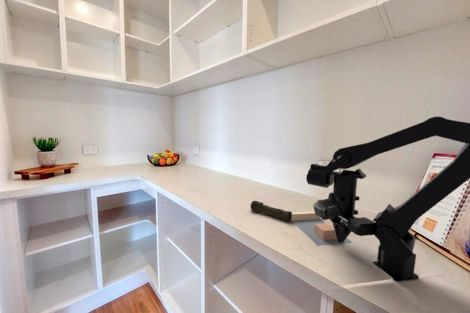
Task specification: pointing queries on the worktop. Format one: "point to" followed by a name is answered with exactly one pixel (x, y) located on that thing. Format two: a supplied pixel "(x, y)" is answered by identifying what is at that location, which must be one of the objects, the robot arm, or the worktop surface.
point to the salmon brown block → (325, 231)
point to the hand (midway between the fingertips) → (340, 242)
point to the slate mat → (312, 227)
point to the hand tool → (271, 211)
